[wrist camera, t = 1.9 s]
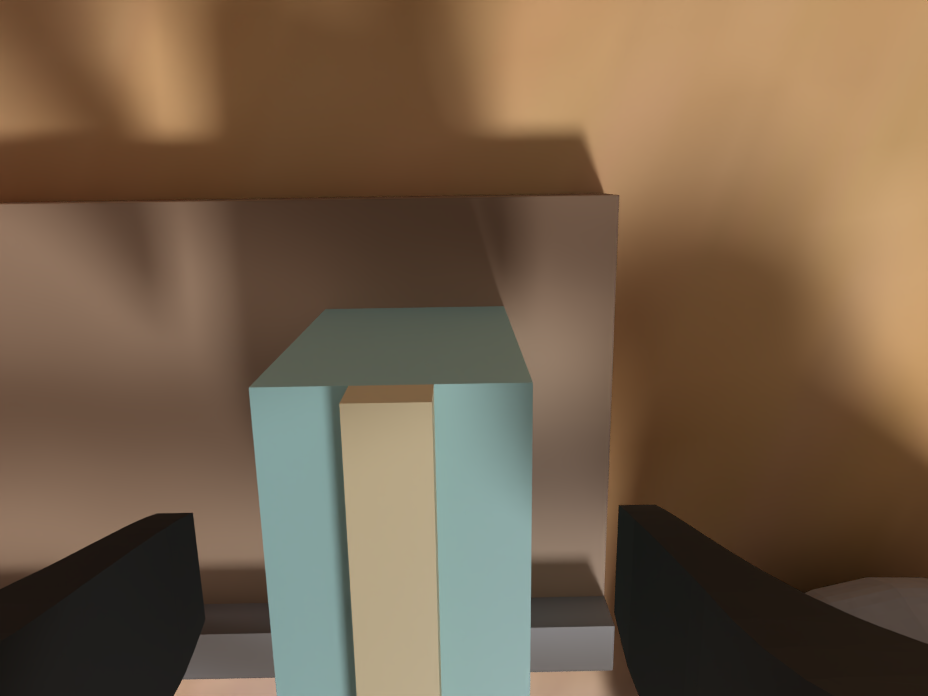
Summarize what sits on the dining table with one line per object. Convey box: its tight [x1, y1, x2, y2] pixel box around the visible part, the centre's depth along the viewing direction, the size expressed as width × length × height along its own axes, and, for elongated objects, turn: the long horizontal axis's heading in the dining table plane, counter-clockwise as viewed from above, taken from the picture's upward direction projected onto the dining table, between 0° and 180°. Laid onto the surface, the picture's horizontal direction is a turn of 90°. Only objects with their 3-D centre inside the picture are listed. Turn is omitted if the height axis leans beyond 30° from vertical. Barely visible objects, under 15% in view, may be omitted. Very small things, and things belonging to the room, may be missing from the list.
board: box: [0, 194, 619, 679], centre depth 16 cm, size 11×23×3 cm, turn 91°
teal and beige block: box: [249, 306, 533, 696], centre depth 13 cm, size 7×4×7 cm, turn 1°
